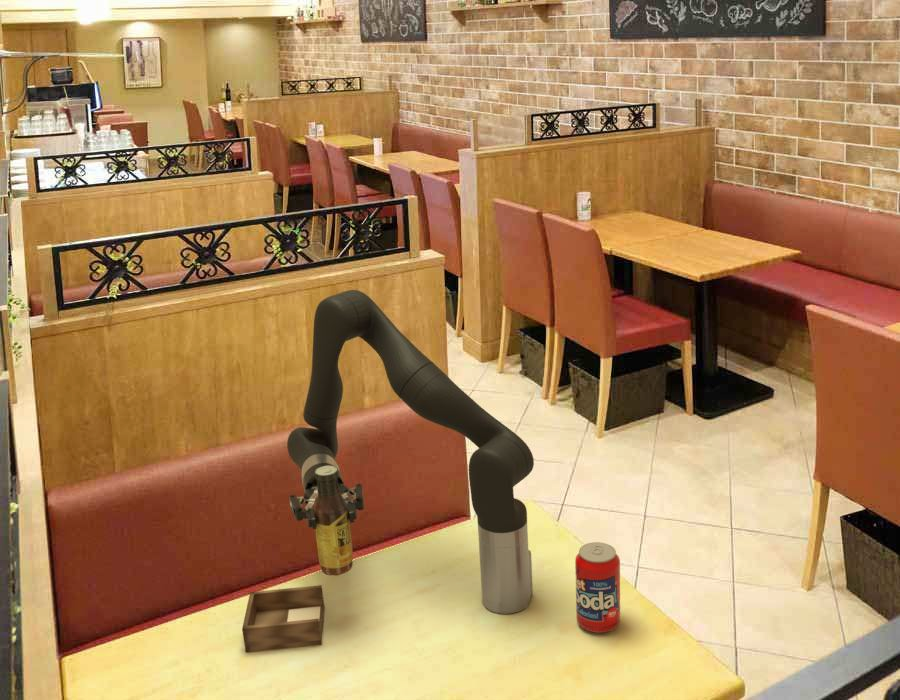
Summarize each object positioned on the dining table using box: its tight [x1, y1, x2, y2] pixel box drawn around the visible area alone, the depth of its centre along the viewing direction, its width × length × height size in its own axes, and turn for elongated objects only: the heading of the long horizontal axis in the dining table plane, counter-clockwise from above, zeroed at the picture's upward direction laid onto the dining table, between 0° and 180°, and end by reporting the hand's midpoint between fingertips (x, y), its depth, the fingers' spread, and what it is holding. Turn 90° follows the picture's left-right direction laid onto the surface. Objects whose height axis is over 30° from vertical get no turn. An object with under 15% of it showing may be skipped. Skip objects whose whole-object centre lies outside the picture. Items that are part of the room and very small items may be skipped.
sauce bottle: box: [313, 466, 354, 577], centre depth 166 cm, size 7×6×20 cm
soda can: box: [574, 541, 621, 633], centre depth 166 cm, size 8×8×15 cm
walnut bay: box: [241, 584, 325, 653], centre depth 171 cm, size 14×12×5 cm
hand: (333, 521), depth 163 cm, fingers closed on sauce bottle, 6 cm apart
